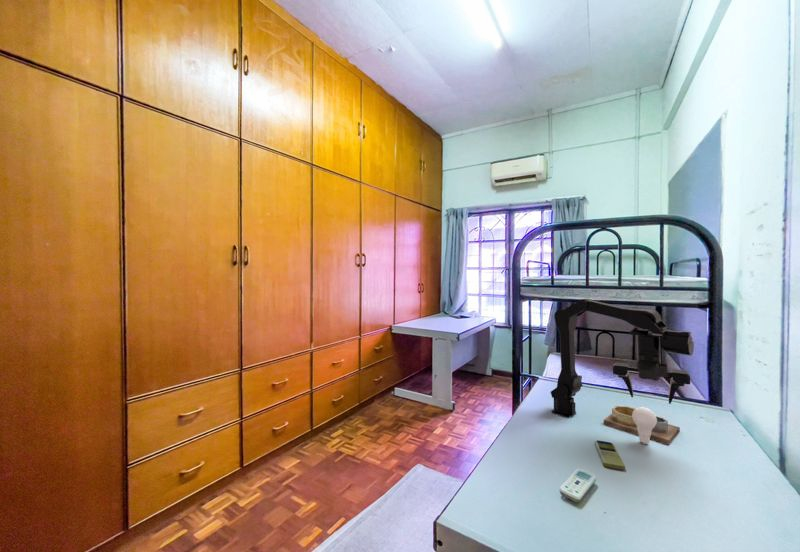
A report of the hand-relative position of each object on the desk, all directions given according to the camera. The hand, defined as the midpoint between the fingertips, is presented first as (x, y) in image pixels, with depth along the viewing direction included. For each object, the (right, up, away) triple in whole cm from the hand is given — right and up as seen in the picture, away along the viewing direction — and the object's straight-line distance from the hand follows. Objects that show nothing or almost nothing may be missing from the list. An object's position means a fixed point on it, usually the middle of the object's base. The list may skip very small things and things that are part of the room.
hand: (650, 400), depth 100 cm
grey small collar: (+7, -12, +6) cm, 14 cm away
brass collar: (+2, -12, +12) cm, 17 cm away
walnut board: (+4, -13, +9) cm, 16 cm away
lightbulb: (-2, -13, -1) cm, 14 cm away
